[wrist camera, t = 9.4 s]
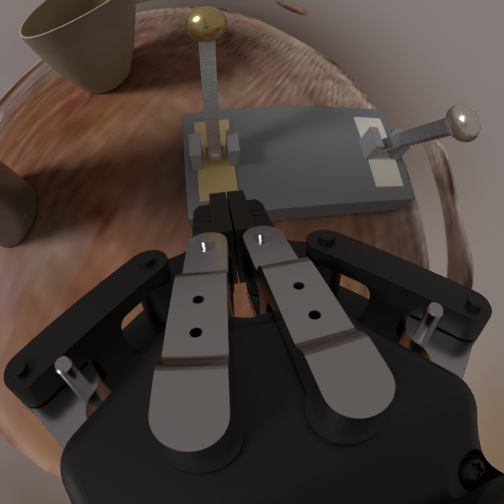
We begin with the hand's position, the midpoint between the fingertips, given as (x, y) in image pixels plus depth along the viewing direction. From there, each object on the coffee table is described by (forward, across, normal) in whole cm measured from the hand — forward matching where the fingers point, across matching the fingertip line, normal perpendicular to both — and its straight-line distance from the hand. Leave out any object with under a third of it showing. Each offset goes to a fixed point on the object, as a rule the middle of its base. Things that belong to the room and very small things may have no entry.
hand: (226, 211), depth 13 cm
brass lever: (+16, 0, +1) cm, 16 cm away
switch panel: (+19, -9, +5) cm, 22 cm away
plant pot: (+34, +15, -9) cm, 38 cm away
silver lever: (+16, -18, +1) cm, 24 cm away
